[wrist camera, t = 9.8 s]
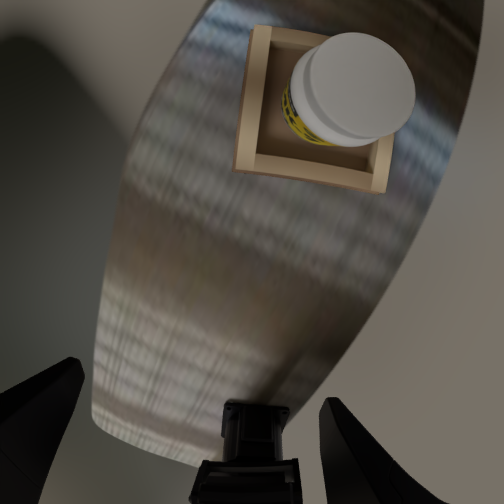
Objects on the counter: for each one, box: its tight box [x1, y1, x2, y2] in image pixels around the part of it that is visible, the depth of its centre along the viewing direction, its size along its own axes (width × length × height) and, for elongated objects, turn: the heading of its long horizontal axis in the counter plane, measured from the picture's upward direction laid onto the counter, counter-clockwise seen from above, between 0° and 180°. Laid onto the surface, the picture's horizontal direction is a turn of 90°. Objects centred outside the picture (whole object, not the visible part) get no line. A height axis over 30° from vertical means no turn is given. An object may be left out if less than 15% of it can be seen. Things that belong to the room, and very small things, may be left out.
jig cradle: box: [232, 25, 395, 195], centre depth 15 cm, size 10×10×2 cm
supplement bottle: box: [281, 32, 416, 147], centre depth 12 cm, size 5×5×8 cm
